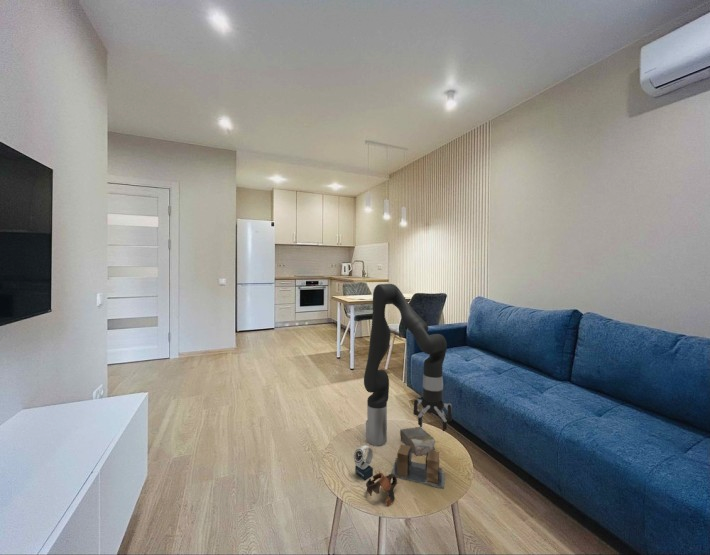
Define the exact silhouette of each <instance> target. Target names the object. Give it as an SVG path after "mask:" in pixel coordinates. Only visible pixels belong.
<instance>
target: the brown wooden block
mask: <svg viewBox="0 0 710 555" xmlns="http://www.w3.org/2000/svg"><path fill="white" fill-rule="evenodd" d="M425 464H426V466H425V470H427V481H431V482H435V483H438V470H439V468H440V452H439V451H437V450H436V451H435V450H434V451H432V450H429V452H427V454H426V455H425Z"/></svg>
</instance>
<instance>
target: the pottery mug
mask: <svg viewBox="0 0 710 555" xmlns="http://www.w3.org/2000/svg"><path fill="white" fill-rule="evenodd" d="M372 478H373V479H371V478H369V479H367V480H366V483H365V486H366V492H367V494H369V496H370V497H372V495H373V494H372V493H373V492H374V493H375V494H376V495H380V493H381V491H380V487H381V488H382V490H383V492H384V493H385V492H386V493H387V495H388V497H387V498H386V499H385V500H384V502H385V504H386V506H387V507H390V506H391V505H392V504H393V503H394V502H395V500H396V498H395V492H394V489H395V488H396V486H397V483H398V479H397V477H396V476H395V475H394V474H391V473H389V474H388V475H384V473H383V472H379V473H376V474H373V476H372Z"/></svg>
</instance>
